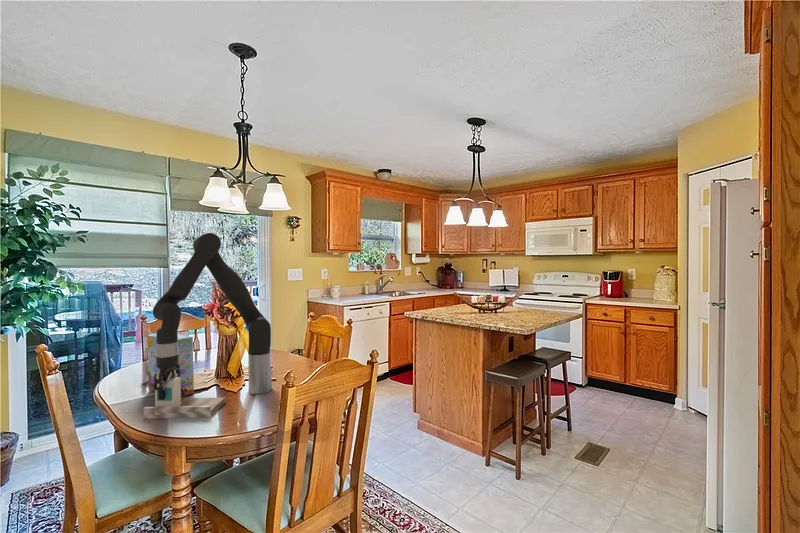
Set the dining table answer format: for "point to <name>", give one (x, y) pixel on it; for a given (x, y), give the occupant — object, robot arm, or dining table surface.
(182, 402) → the shelf plank
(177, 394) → the product box
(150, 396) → the dining table surface
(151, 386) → the snack box
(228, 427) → the dining table surface
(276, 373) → the dining table surface
